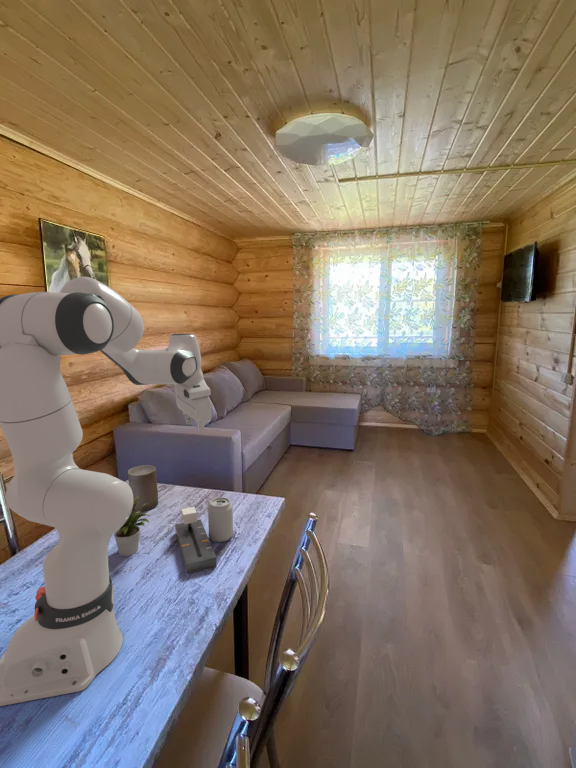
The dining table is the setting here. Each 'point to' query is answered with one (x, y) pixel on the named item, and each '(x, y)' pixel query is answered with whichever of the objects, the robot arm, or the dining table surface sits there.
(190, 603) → the dining table surface
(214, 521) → the can
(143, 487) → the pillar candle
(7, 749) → the dining table surface
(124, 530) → the house plant
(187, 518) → the fader knob
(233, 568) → the dining table surface
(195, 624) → the dining table surface
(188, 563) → the fader panel
